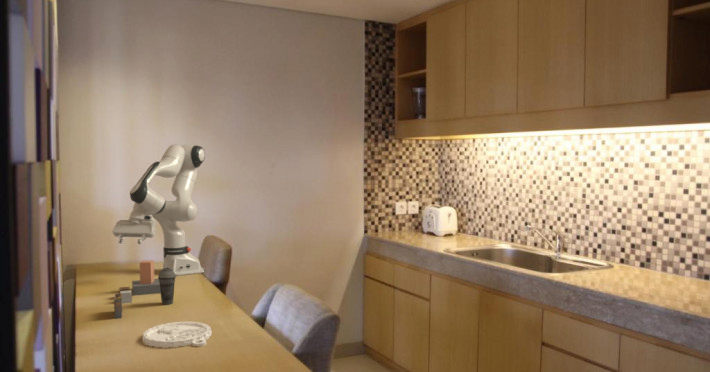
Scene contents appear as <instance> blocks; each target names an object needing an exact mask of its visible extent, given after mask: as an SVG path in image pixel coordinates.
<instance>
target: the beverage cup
mask: <svg viewBox="0 0 710 372" xmlns="http://www.w3.org/2000/svg"><path fill="white" fill-rule="evenodd" d="M162 259H163V264H164V266H165V268H164V269H163V268H162V269H161V270H160V271H159V273H158V277H157V279H159V283H160V292H161V293H160V299H161V305H162V306H169V305H173V303H174V296H175V295H174V293H175V283H176V278H177V277H176V276H175V272H174V271H173V270H172V269H171V268H166V264H165V258H164V257H163V258H162Z"/></svg>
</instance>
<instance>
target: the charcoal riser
mask: <svg viewBox="0 0 710 372" xmlns="http://www.w3.org/2000/svg"><path fill="white" fill-rule="evenodd" d="M131 282H132V283H131V284H132V285H131V289H132V290H131V291H132V296H143V295H153V294H161V292H160V283H159V279H158V278H154V282H153V283H151V284H140V279H138V280H132V281H131Z"/></svg>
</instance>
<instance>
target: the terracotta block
mask: <svg viewBox="0 0 710 372" xmlns="http://www.w3.org/2000/svg"><path fill="white" fill-rule="evenodd" d="M154 279H155V261H154V260H141V261H140V262H139V280H140V284H151V283H153V282H154Z"/></svg>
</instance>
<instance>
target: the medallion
mask: <svg viewBox="0 0 710 372" xmlns="http://www.w3.org/2000/svg"><path fill="white" fill-rule="evenodd" d="M210 336H212V328H211V326H209V325H208V324H207V323H204V322H197V321H190V320H189V321H177V322H176V321H175V322H168V323H163V324H157V325H155V326H152V327H149V328H148V329H146V330H144V332H143V333H142V340H143V341H142V343H143V342H144V343H145V344H144V343H143V344H144V345H146V346H148V345H149V347H152V346H154V347H153V348H159V347H162V349H170V348H169V347H176V348H179V347H178V346H184V347H187V346H186V345H190V346H192V345H193V346H192V347H195V346H200V347H203V345H204V346H206V345H207V340H208V339H210V338H211V337H210ZM209 337H210V338H209ZM206 339H207V340H206ZM191 344H192V345H191Z"/></svg>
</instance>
